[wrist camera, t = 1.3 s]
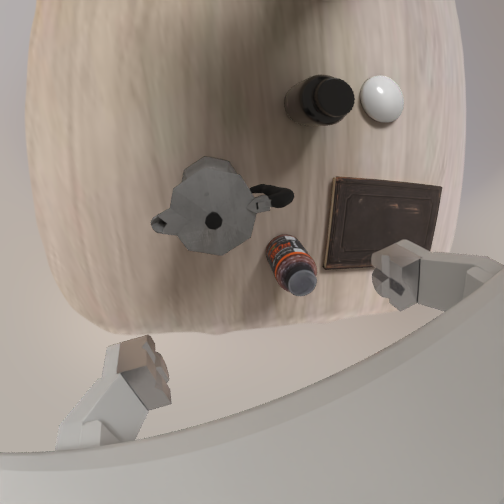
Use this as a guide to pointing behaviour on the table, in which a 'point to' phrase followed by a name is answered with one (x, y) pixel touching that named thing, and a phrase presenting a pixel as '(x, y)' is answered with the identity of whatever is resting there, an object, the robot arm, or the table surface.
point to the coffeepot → (216, 207)
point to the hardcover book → (377, 218)
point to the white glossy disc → (381, 99)
